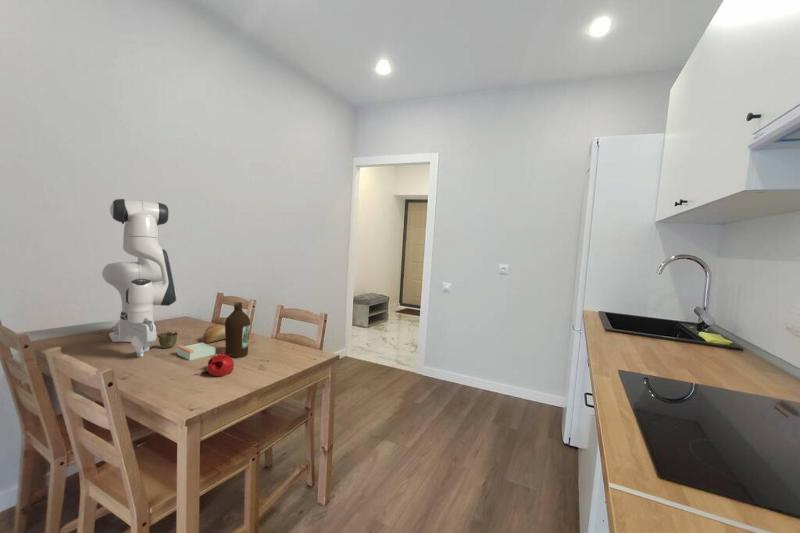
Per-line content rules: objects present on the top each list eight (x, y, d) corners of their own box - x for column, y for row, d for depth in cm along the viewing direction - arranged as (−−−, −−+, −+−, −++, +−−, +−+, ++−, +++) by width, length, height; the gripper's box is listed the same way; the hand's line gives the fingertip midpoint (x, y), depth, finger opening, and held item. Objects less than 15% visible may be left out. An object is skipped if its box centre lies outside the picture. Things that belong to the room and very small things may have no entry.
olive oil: (219, 358, 153) (221, 304, 151) (230, 350, 163) (232, 299, 161) (243, 359, 153) (245, 305, 151) (252, 351, 164) (254, 301, 162)
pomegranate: (224, 367, 144) (225, 345, 143) (239, 372, 139) (240, 350, 138) (201, 373, 135) (201, 351, 135) (215, 380, 130) (216, 356, 130)
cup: (181, 348, 162) (181, 332, 161) (169, 353, 154) (169, 336, 154) (166, 346, 162) (166, 330, 162) (154, 351, 155) (154, 334, 154)
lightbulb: (129, 361, 142) (129, 336, 141) (133, 356, 148) (133, 332, 147) (147, 360, 145) (148, 335, 144) (150, 355, 151) (151, 331, 150)
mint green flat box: (177, 354, 150) (177, 345, 150) (202, 348, 159) (202, 340, 159) (189, 360, 144) (190, 351, 144) (215, 354, 154) (215, 345, 153)
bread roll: (197, 342, 172) (197, 327, 171) (223, 335, 186) (223, 321, 185) (210, 345, 168) (210, 330, 167) (235, 338, 182) (236, 324, 181)
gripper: (161, 319, 142) (160, 351, 143) (139, 312, 153) (139, 341, 154) (143, 322, 137) (143, 355, 138) (122, 314, 148) (122, 345, 149)
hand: (141, 348), depth 146 cm, fingers open, 8 cm apart
